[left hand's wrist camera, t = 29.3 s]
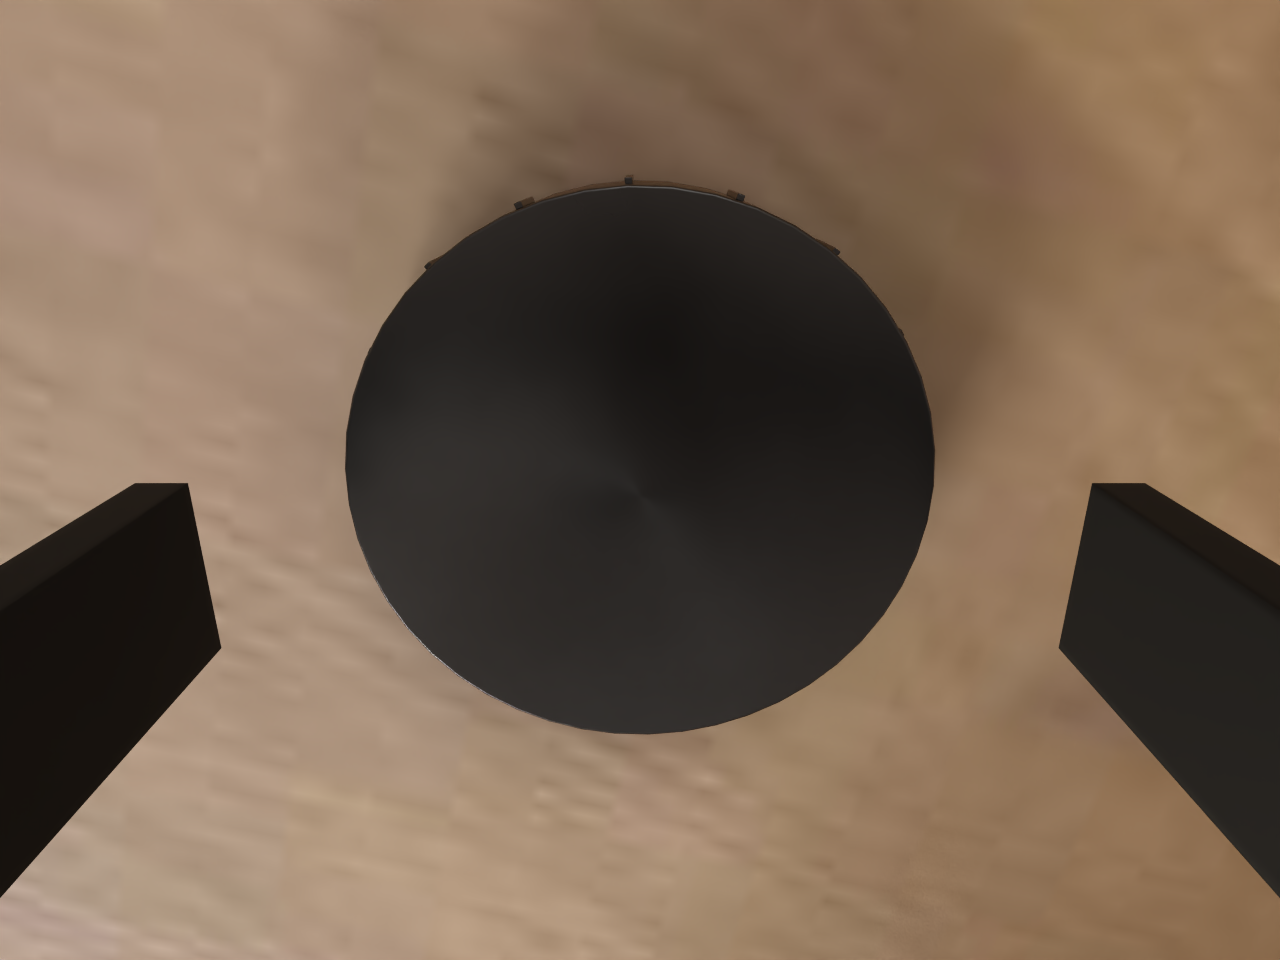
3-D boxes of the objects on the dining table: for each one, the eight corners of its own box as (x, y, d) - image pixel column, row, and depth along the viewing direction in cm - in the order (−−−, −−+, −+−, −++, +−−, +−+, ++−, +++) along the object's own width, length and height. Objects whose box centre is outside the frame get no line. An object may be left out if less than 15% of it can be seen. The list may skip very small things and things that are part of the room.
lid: (269, 375, 14) (213, 407, 12) (741, 53, 12) (758, 35, 10) (566, 743, 17) (557, 814, 15) (986, 526, 15) (1033, 577, 13)
